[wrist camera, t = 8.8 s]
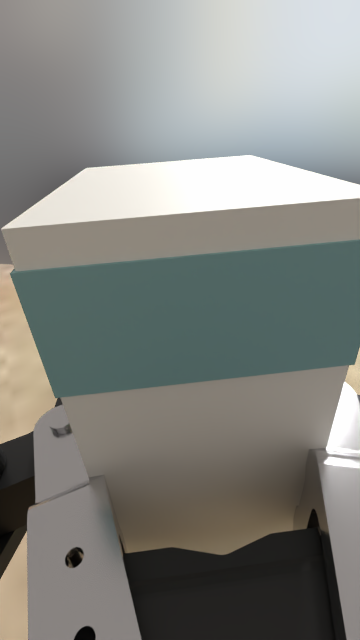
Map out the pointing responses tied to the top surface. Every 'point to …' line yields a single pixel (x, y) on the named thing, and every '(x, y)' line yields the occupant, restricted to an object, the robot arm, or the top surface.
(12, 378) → the top surface
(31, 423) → the top surface
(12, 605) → the top surface
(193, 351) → the carton
